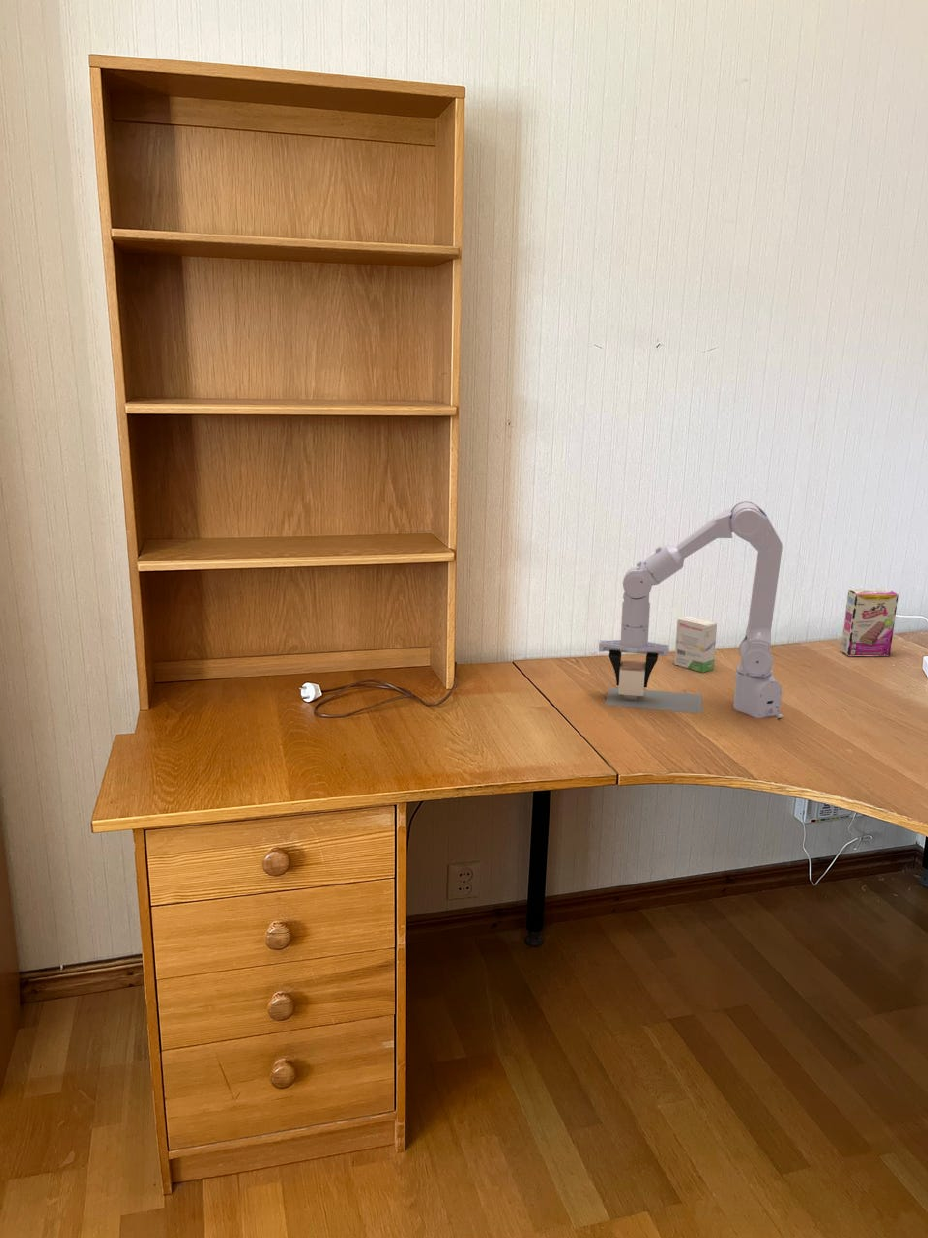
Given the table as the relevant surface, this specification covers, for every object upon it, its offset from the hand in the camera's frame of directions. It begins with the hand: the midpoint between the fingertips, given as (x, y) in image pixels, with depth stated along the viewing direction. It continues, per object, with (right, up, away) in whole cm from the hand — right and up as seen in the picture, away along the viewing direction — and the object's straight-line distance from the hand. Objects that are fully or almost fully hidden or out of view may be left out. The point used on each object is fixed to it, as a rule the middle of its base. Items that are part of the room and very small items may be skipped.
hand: (631, 685), depth 208 cm
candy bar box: (+66, +5, +37) cm, 75 cm away
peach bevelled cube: (0, -1, 0) cm, 1 cm away
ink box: (+19, +2, +25) cm, 32 cm away
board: (+5, -4, 0) cm, 6 cm away
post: (0, -4, +1) cm, 4 cm away
